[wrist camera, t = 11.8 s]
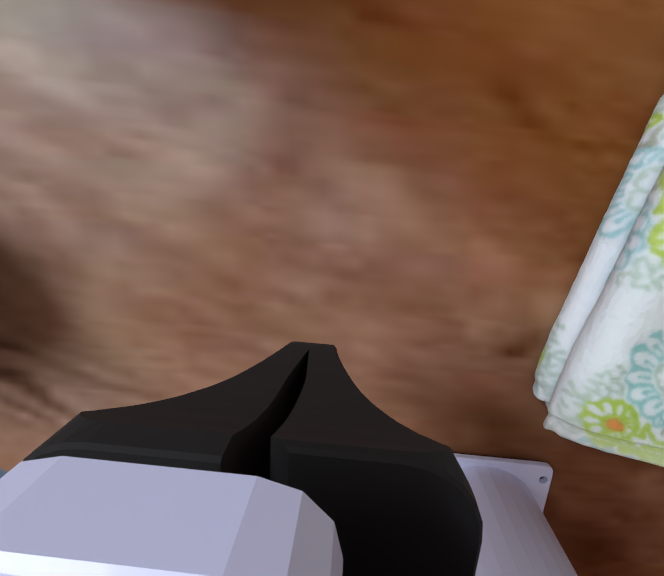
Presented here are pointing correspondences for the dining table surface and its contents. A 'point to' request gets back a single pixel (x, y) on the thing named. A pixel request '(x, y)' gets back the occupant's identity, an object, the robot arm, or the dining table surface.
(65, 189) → the dining table surface
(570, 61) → the dining table surface
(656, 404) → the towel
